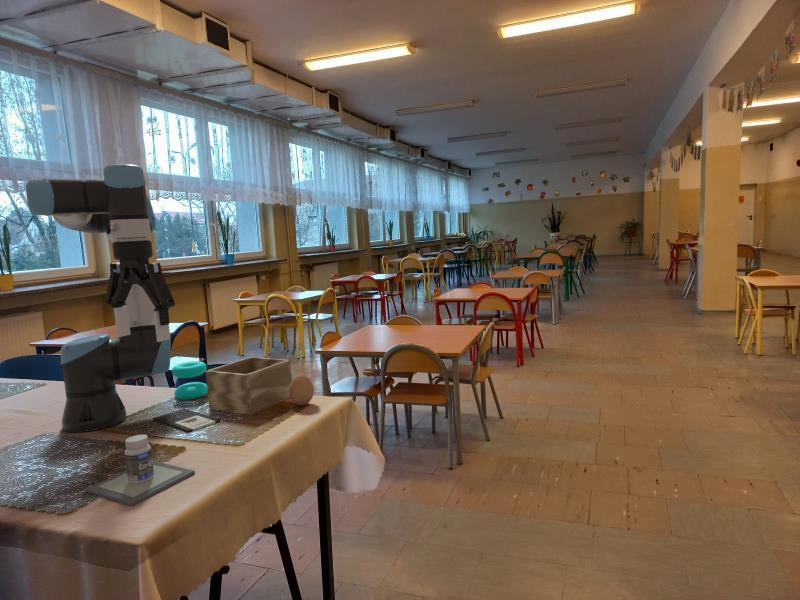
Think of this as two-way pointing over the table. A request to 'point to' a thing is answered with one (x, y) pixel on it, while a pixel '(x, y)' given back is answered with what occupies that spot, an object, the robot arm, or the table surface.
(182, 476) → the coaster
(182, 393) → the donuts
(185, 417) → the chocolate bar
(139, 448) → the pill bottle
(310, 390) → the egg
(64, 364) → the robot arm
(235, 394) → the bin
